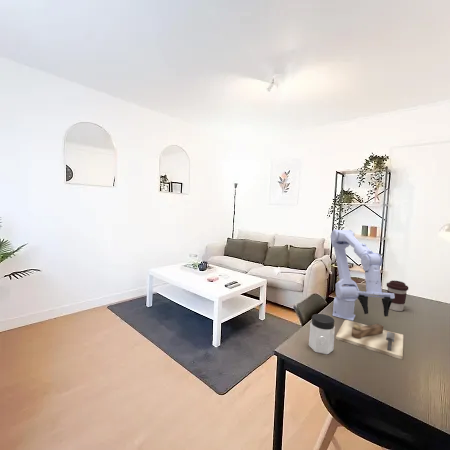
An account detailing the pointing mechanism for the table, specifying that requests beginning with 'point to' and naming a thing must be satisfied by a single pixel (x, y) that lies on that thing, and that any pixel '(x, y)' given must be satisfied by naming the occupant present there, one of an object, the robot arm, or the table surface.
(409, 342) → the table surface
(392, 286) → the coffee cup
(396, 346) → the plate
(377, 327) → the brown long round-headed piece
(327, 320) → the jar
